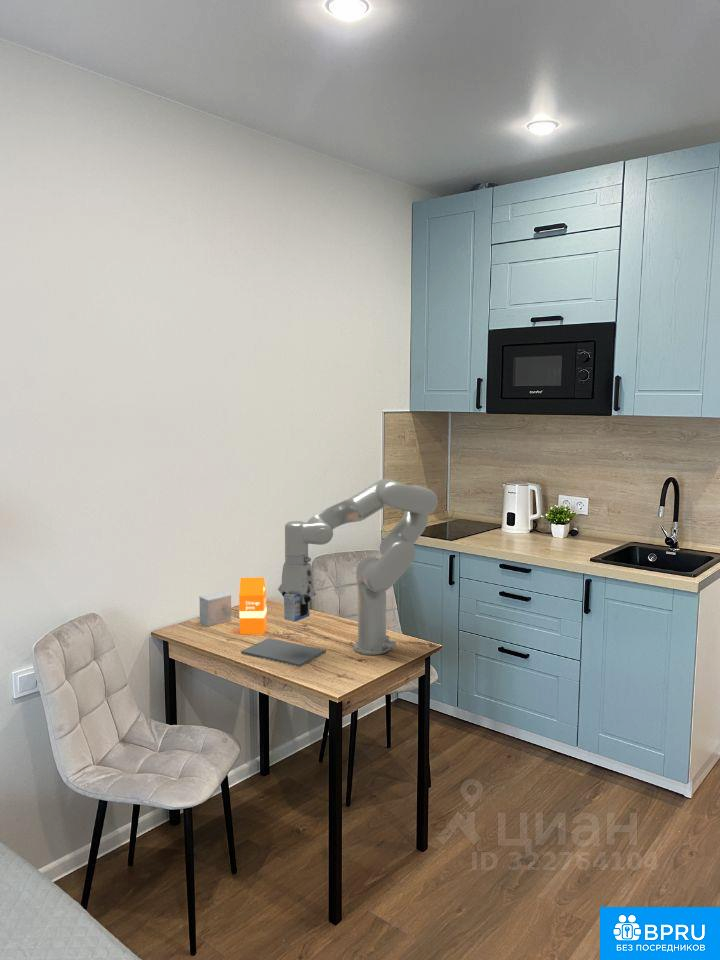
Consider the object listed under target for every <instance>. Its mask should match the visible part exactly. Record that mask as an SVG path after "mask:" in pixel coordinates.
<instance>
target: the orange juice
mask: <svg viewBox="0 0 720 960" xmlns="http://www.w3.org/2000/svg"><path fill="white" fill-rule="evenodd" d="M238 602H239V604H238V605H239V634H240V635H265V632H266V631H267V628H268V626H267V625H268V623H267V618H268V617H267V616H268V615H267V612H268V611H267V589H266V581H265V577H263V576H262V577H240V581H239V595H238ZM265 630H266V631H265Z"/></svg>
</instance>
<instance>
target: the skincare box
mask: <svg viewBox="0 0 720 960" xmlns="http://www.w3.org/2000/svg"><path fill="white" fill-rule="evenodd" d="M228 621H229V622H232V595H231V594H229V593H228V592H225V591H219V592H215V593H209V594H205V595H201V596H199V623H200V624H201V625H204V626H206V627H208V626H209V627H212V625H213V626H216V624H217V625H221V624H224V622H225V623H228ZM220 623H221V624H220Z"/></svg>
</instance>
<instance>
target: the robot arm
mask: <svg viewBox="0 0 720 960" xmlns="http://www.w3.org/2000/svg"><path fill="white" fill-rule="evenodd" d="M438 500H439V499H438V496H437V494H436V493H435V492H434V491H433V490H432V489H429V488H428V487H427V488H426V487H424V486H422V485H419V484H418V485H417V484H416V485H415V484H414V485H410V484H405V483H403V482H399V481H396V480H394V479H391V478H382V479H380V480H378V481H376V482H375V483H373V484H371V485H369V486H368V487H366V488H364V489H363V490H362V491H359V492H358V493H356V494H355V495H353V496H350V497H349V498H348V499H345V500H341V501H340V502H338V503H336V504H333V505H331V506H328V507H326V508H325V509H323V510H321V511H319V512H318V513H317V514H315V515H314V516H312V517H310V519H308V520H307V521H306V522H305V521H303V520H291V521H288V522H287V523H285V525H284V563H283V565H282V570H281V571H282V572H281V584H280V585H279V587H278V588H277V591H278V592H279V593H280V594H281V596H282V597H283V598H284V594H287V593H293V594H298V595H300V597H301V601H302V604H301V605H300V612H301V616H304V615H306V614H307V613H308V602H309V603H310V601H311V600H312V599H313V598H315V597H316V596H317V593H316V590H315V589H314V588H315V587H314V586H315V585H314V576H313V568H312V564H311V563H310V562H311V561H312V558H311V557H309V544H310V545H321V546H322V545H327V544H328V543H330V542H331V540H332V539H333V537H334V529H336V528H338V527H340V526H342V525H346V524H350V523H357V522H361V521H364V520H366V519H367V518H369V517H371V516H373V515H374V514H375V513H377V512H379V511H381V510H382V509H384V508H386V507H389V508H393V509H396V510H401V511H404V513H403V516H402V517H401V519H400V520H399V522H397V524H396V525H395V526H394V527H393V528H392V529H391V530H390V532H389V533H388V534H387V535H386V536H385V537H384V538H383V539H382V541H381V542H380V544H379V553H380V555H381V556H380V557H376V556H370V555H369V556H365V557H363V558H362V559H361V560H360V561H359V562H358V564H357V566H356V571H355V573H356V574H355V575H356V584H357V585H356V586H357V641H356V642H355V643H354V644H353V650H354V651H355V652H357V653H359V654H362V655H369V656H370V655H371V656H372V655H373V656H375V655H377V656H378V655H382V654H385V653H388V652H389V651H390V650H391V649H392V650H396V647H397V644H396V643H397V642H396V641H395V640H390V636H389V635H387V591H388V590H389V589H390V588H392V587H393V586H394V585H395V584H396V582H397V581H399V579H400V578H401V577H402V575H404V573H405V572H406V571H407V570H408V569H409V568H410V566H411V565H412V564H413V562H414V560H415V557H416V548H415V545H414V544H415V543H416V542H417V540H418V539H420V536H421V535H422V534H423V533H424V532H425V530H426V528H427V525H428V521H429V514H431V513H433V512H434V511H435V510H436V509H437V508H438V507H437V506H438V505H439V504H438V503H439V501H438ZM308 593H309V596H308ZM304 596H305V597H304Z"/></svg>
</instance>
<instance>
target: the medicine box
mask: <svg viewBox="0 0 720 960" xmlns="http://www.w3.org/2000/svg"><path fill="white" fill-rule="evenodd" d="M309 595H310V593H308V596H309ZM304 597H305V596H304ZM301 604H302V601H301V597H300V595H298V594H293V593H287V594H284V597H283V608H284V610H283V615H284V616H283V618H284V620H287V621H288V622H289V621H290V622H292V623H293V622H294V623H295V622H297V621H300V620H303V619H305V618H307V617H310V610H311V608H310V607H311V606H310V602H308V613H307V614H306V615H304V616H301V612H300V605H301Z"/></svg>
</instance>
